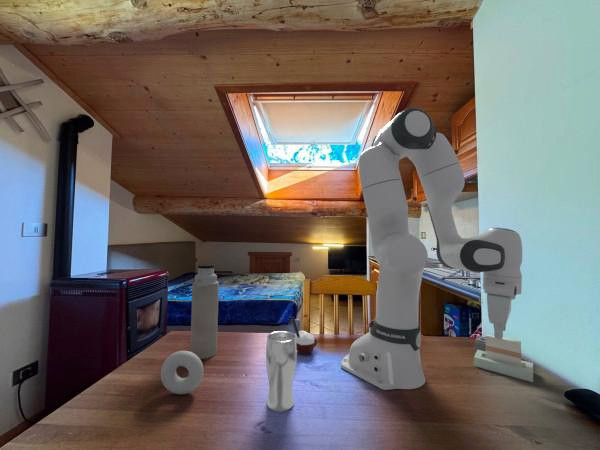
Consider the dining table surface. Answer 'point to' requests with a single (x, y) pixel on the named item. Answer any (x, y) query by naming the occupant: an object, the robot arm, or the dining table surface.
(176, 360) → the donut
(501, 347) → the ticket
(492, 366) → the tray
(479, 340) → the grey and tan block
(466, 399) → the dining table surface
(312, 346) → the coconut drink with straw
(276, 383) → the beer glass
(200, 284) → the thermos bottle
